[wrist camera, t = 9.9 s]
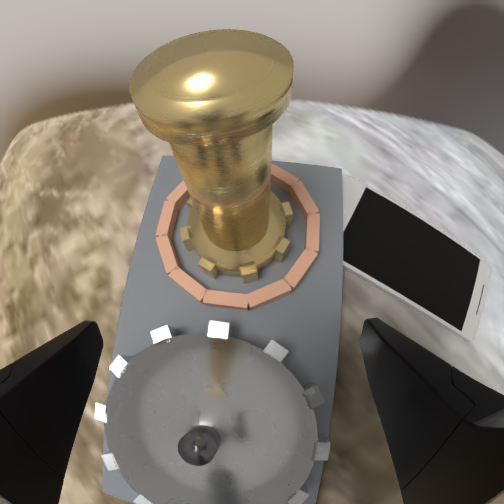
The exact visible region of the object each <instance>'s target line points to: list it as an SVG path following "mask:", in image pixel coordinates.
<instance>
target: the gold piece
mask: <svg viewBox="0 0 504 504" xmlns="http://www.w3.org/2000/svg"><path fill="white" fill-rule="evenodd" d="M292 80H293V59H292V56H291V55H290V53H289V51H288V50H287V49H286V48H285V47H284V46H283V45H282V44H280V43H279V42H277V41H276V40H274V39H272V38H270V37H268V36H265V35H262V34H259V33H255V32H250V31H244V30H231V29H228V30H227V29H224V30H213V31H204V32H199V33H195V34H191V35H188V36H184V37H181V38H179V39H176V40H173V41H171V42H169V43H167V44H166V45H163V46H162V47H160V48H158V49H157V50H155V51H154V52H152V53H151V54H149V55H148V56H147V57H146V58H145V59H144V60H143V61H142V62H141V63H140V64H139V65H138V66H137V68H136V69H135V71H134V72H133V74H132V76H131V79H130V83H129V91H130V94H131V97H132V100H133V102H134V104H135V107H136V109H137V111H138V114H139V116H140V118H141V121H142V123H143V124H144V126H145V127H146V129H147V130H148V131H149V132H150V133H152V134H153V135H155V136H156V137H158V138H160V139H162V140H164V141H167V142H169V143H170V146H171V149H172V151H173V154H174V156H175V159H176V162H177V164H178V167H179V169H180V172H181V174H182V177H183V180H184V182H185V185H186V187H187V190H188V192H189V195H190V199H189V200H188V201H187V204H188V207H189V209H190V213H189V216H188V221H187V226H185V227H181V228H180V233H181V239H182V242H183V244H184V245H185V247H186V248H187V250H188V252H189V251H193V250H195V251H196V252H197V254H198V256H199V257H200V259H201V260H200V261H199V263H198V265H199V267H200V268H201V270H202V271H203V273H204V274H206V275H208V276H209V277H211V278H213V279H214V280H216V278H217V276H218V275H219V274H222V275H226V276H231V277H242V279H243V283H244V284H246V283H250V282H254V281H258V272H260V271H262V270H263V269H265V268H266V267H267V266H269V265H270V264H271V263H272V262H273V261H274V260H275V261H277V262H279V263H282V261H283V259H284V258H285V256H286V254H287V253H288V249H289V244H290V241H289V240H288V239H286V238H284V234H285V228H287V227H291V222H292V217H293V212H292V210H291V207H290V204H289V202H284V203H281V202H280V200H279V199H278V198H277V196H276V195H275V194H274V193H273V192H272V191H271V190H270V187H271V157H272V124H273V123H274V122H275V121H277V120H278V119H279V118H280V117H281V116H282V114H283V113H284V112H285V110H286V109H287V107H288V105H289V103H290V99H291V92H292Z"/></svg>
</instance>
